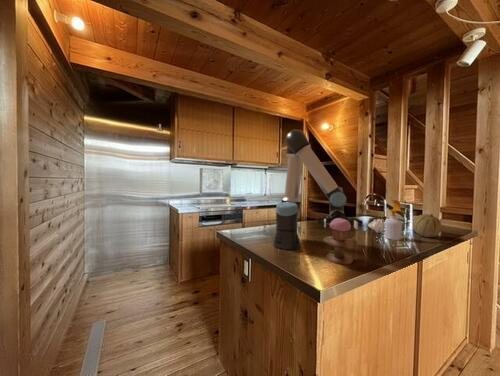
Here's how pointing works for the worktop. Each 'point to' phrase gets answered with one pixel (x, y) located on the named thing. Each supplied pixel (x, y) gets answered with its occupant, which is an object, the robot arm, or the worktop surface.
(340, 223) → the cupcake
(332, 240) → the cake stand
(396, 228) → the soap bottle
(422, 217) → the cantaloupe
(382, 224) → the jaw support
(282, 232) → the robot arm
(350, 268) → the worktop surface
